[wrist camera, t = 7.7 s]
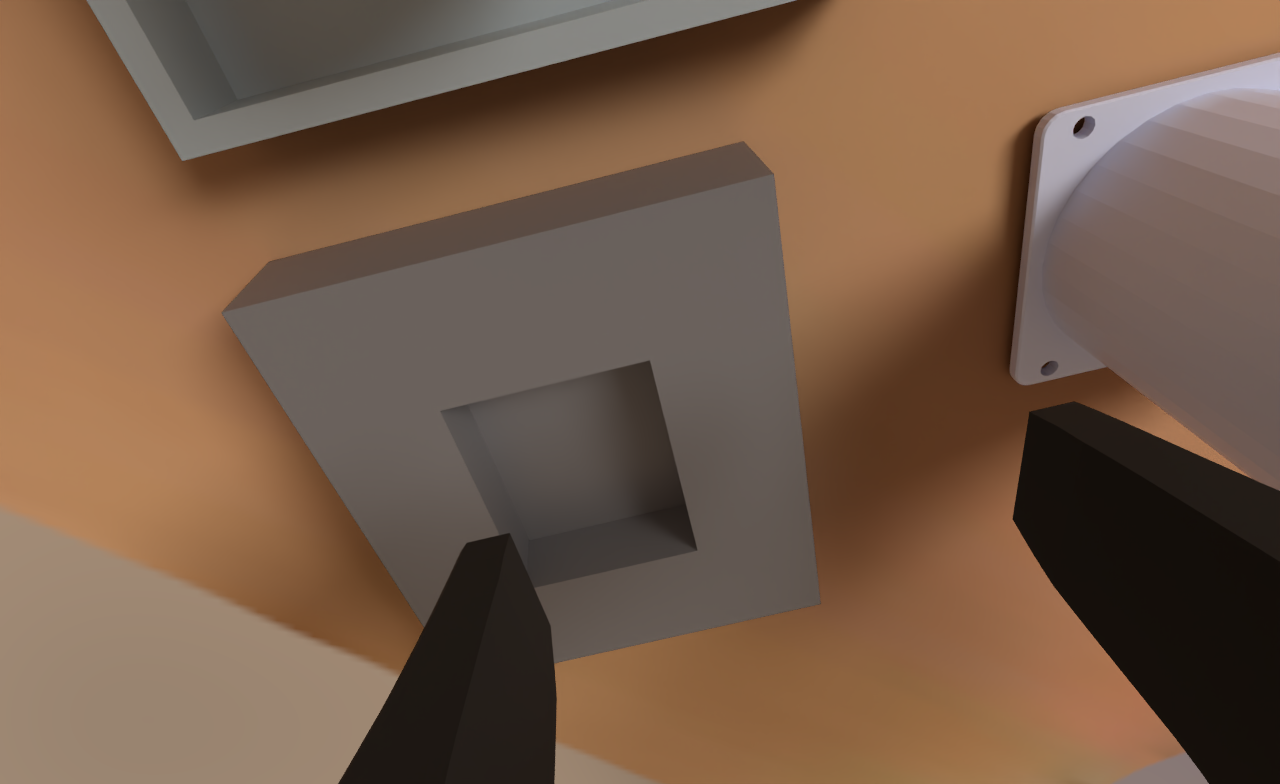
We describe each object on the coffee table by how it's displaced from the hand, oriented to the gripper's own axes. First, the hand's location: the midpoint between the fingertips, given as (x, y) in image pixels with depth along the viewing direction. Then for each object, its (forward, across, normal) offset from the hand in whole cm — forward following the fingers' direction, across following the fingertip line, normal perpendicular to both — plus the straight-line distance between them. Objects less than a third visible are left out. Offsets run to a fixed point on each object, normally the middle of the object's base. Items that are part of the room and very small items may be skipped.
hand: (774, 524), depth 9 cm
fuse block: (+10, +4, +5) cm, 12 cm away
